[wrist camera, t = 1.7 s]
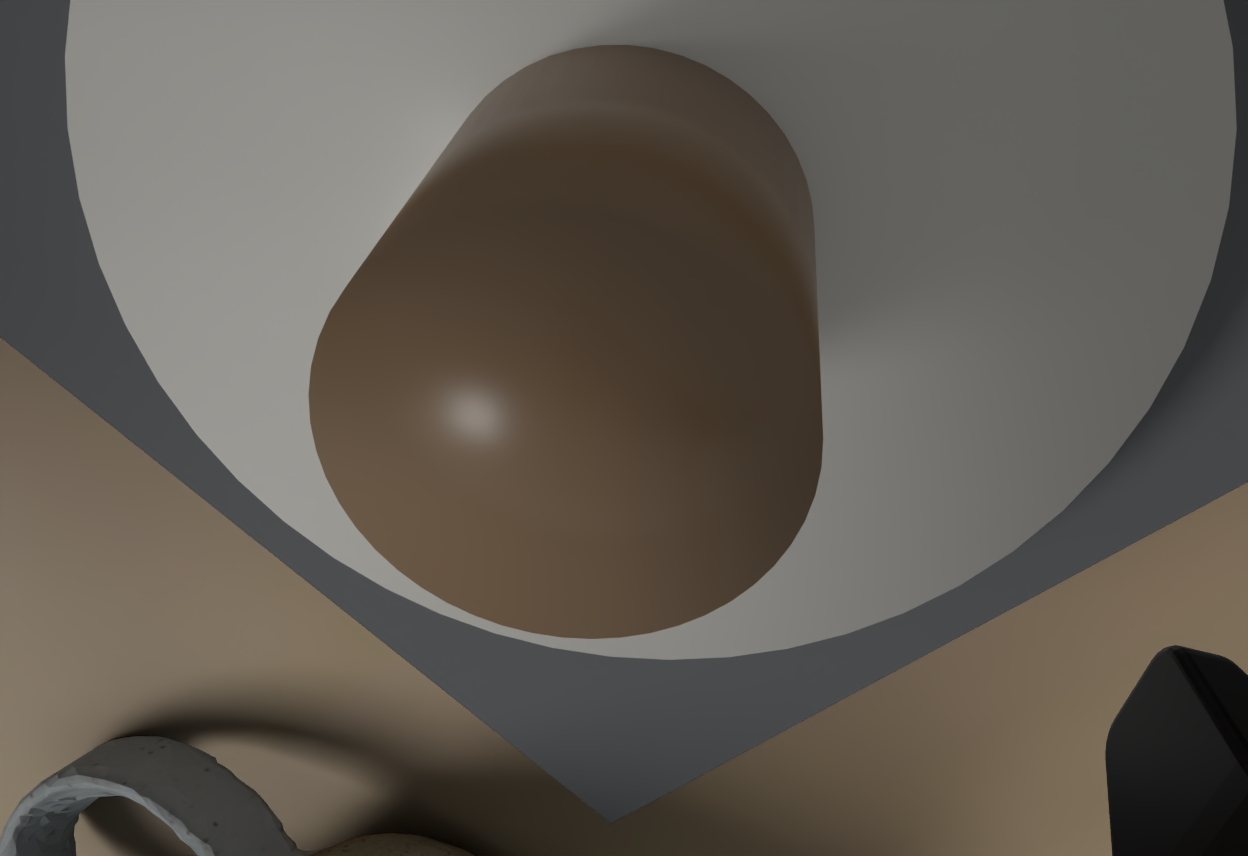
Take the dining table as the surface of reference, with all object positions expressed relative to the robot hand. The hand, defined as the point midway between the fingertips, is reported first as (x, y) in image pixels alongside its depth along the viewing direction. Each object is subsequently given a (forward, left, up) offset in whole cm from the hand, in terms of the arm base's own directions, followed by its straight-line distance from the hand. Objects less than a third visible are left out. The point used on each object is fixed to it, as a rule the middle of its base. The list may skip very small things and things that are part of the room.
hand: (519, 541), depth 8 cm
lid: (0, 0, -6) cm, 6 cm away
